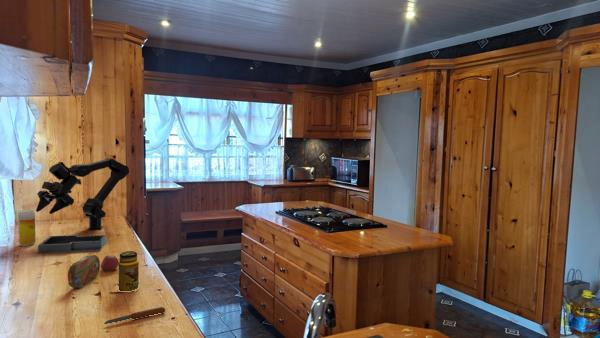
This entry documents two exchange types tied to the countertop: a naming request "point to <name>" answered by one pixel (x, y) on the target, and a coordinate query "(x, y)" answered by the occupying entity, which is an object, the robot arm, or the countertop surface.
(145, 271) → the countertop surface
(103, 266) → the fruit
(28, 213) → the beer can
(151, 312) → the kitchen knife
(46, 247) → the keyhole plate
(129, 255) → the condiment
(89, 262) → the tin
